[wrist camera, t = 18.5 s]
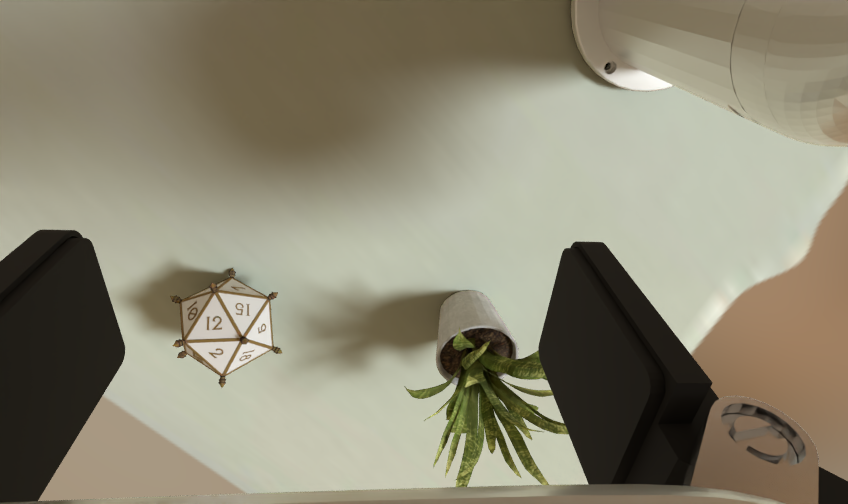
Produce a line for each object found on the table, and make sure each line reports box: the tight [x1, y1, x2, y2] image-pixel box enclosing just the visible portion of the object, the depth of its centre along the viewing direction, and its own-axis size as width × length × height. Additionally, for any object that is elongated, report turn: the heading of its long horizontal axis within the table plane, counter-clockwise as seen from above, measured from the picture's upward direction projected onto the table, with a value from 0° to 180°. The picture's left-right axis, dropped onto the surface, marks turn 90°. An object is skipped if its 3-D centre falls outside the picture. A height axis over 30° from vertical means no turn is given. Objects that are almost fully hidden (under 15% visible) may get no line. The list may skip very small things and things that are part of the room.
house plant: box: [404, 290, 569, 487], centre depth 41 cm, size 14×14×16 cm
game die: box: [170, 268, 282, 387], centre depth 41 cm, size 9×8×10 cm
